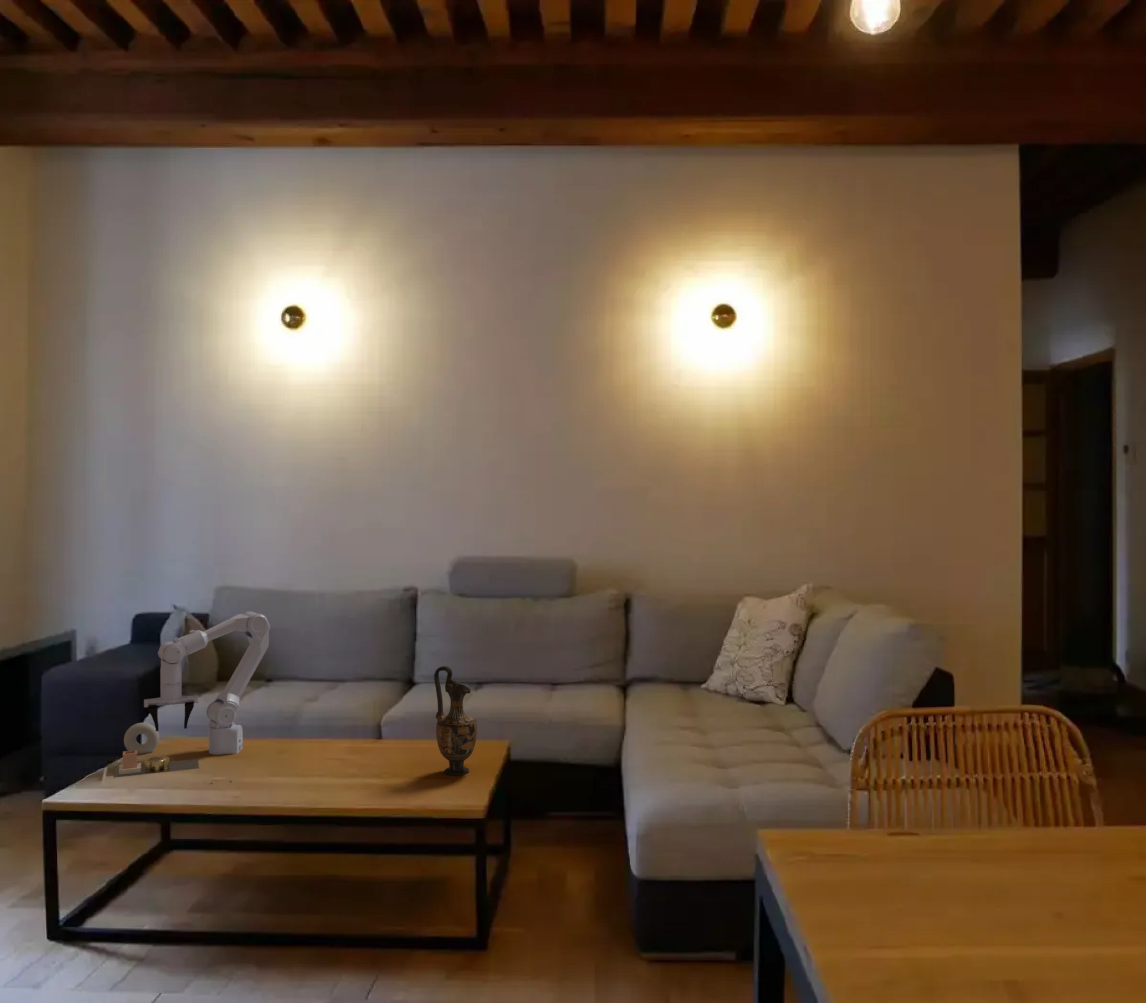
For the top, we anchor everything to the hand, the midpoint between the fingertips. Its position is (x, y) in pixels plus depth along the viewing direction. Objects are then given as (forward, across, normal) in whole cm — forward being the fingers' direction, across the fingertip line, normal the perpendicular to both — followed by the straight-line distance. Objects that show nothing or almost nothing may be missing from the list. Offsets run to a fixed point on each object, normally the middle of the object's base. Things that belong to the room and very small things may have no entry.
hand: (171, 729), depth 279 cm
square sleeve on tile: (+9, -11, -8) cm, 16 cm away
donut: (+10, -8, +12) cm, 17 cm away
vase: (+10, +74, -41) cm, 86 cm away
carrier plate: (+10, -4, -8) cm, 13 cm away
